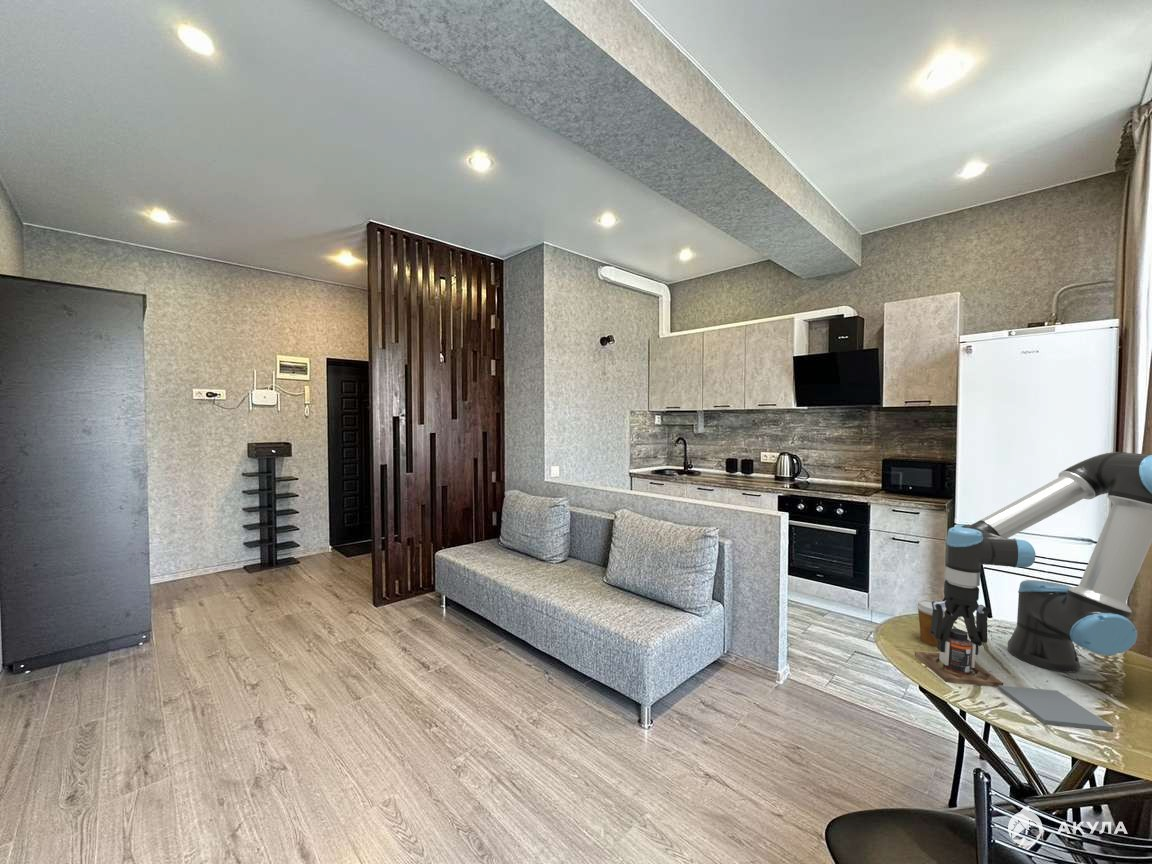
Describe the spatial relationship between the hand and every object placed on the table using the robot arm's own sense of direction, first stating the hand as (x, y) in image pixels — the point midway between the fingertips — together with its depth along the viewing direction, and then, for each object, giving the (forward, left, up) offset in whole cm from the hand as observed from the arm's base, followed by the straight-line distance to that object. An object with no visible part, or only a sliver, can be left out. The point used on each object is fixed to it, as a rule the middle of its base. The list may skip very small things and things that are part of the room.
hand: (956, 663), depth 130 cm
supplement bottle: (0, 0, -2) cm, 2 cm away
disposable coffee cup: (-4, -17, -2) cm, 18 cm away
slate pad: (-12, +15, -2) cm, 19 cm away
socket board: (0, 0, -2) cm, 2 cm away
